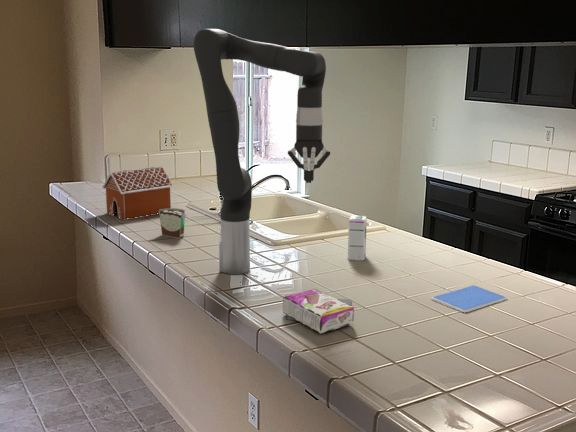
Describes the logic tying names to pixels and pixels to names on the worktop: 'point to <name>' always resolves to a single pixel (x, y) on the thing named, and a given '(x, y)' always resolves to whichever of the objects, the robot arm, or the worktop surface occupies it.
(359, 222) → the syrup box
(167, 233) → the food container
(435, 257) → the worktop surface
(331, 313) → the candy bar box
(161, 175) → the gingerbread house
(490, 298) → the tablet computer
